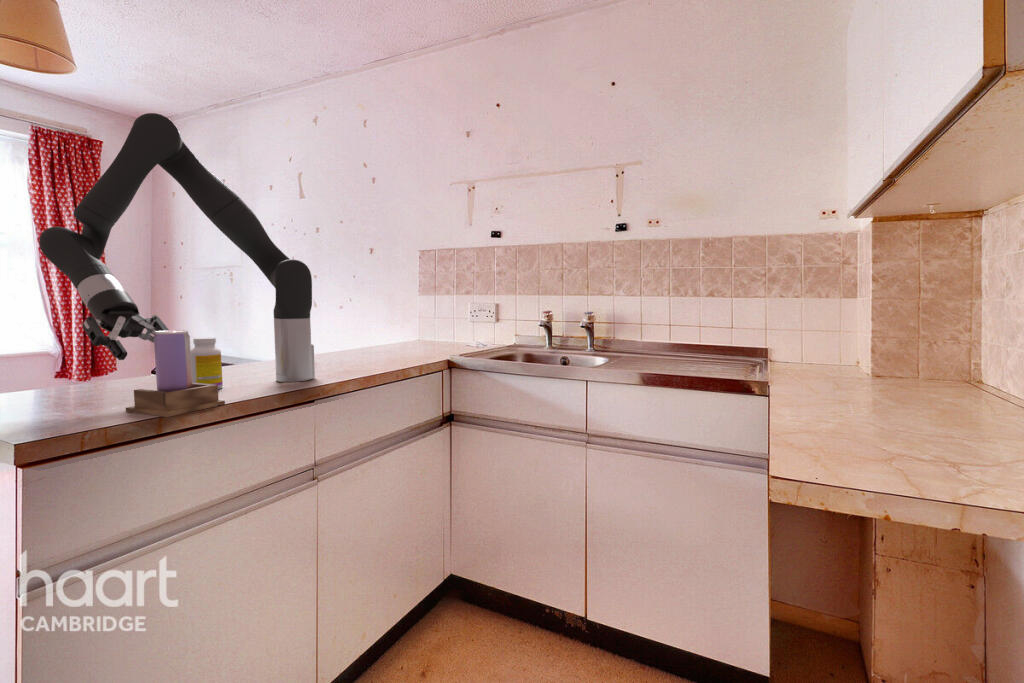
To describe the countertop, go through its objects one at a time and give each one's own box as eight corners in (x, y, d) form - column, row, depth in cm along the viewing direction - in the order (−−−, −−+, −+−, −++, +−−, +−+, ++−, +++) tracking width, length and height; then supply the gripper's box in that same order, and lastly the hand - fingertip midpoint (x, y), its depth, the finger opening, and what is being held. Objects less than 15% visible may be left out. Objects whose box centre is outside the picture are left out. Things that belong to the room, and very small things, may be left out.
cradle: (185, 400, 106) (184, 380, 105) (224, 404, 102) (223, 384, 101) (125, 411, 95) (124, 390, 94) (167, 416, 90) (165, 394, 90)
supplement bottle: (228, 388, 120) (226, 337, 119) (202, 392, 114) (199, 339, 113) (211, 386, 123) (209, 336, 122) (185, 390, 117) (182, 338, 116)
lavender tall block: (175, 407, 95) (170, 332, 93) (150, 406, 96) (145, 331, 94) (200, 401, 100) (196, 330, 99) (176, 399, 102) (172, 329, 100)
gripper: (75, 286, 95) (116, 346, 92) (150, 289, 109) (188, 340, 106) (60, 312, 97) (100, 371, 94) (136, 311, 111) (172, 363, 108)
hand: (146, 355), depth 100 cm, fingers open, 8 cm apart
